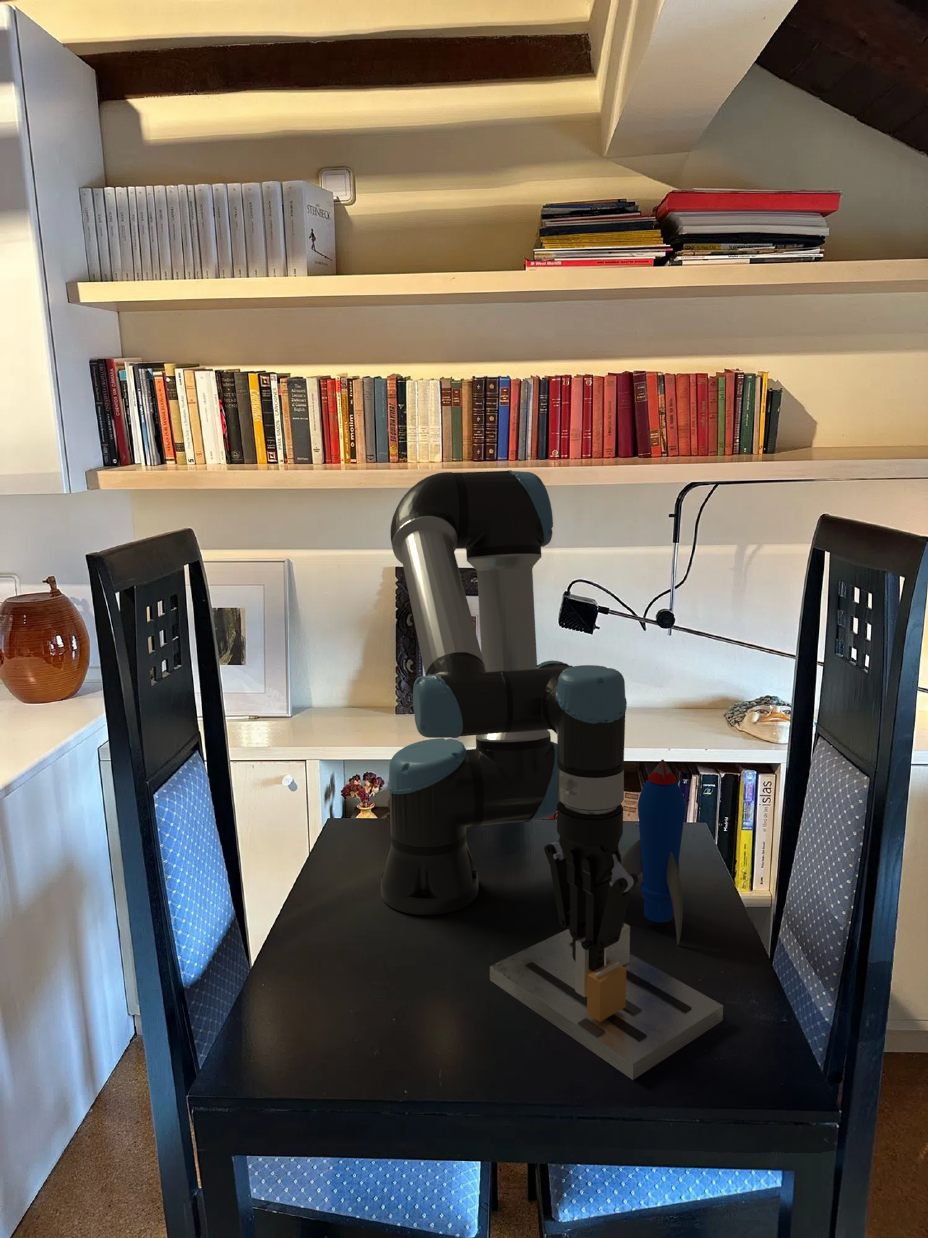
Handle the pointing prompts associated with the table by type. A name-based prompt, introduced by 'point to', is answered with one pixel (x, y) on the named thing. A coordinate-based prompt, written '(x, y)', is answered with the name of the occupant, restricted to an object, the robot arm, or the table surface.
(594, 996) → the fader
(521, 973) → the console
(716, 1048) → the table surface
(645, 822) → the toy rocket
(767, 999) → the table surface
